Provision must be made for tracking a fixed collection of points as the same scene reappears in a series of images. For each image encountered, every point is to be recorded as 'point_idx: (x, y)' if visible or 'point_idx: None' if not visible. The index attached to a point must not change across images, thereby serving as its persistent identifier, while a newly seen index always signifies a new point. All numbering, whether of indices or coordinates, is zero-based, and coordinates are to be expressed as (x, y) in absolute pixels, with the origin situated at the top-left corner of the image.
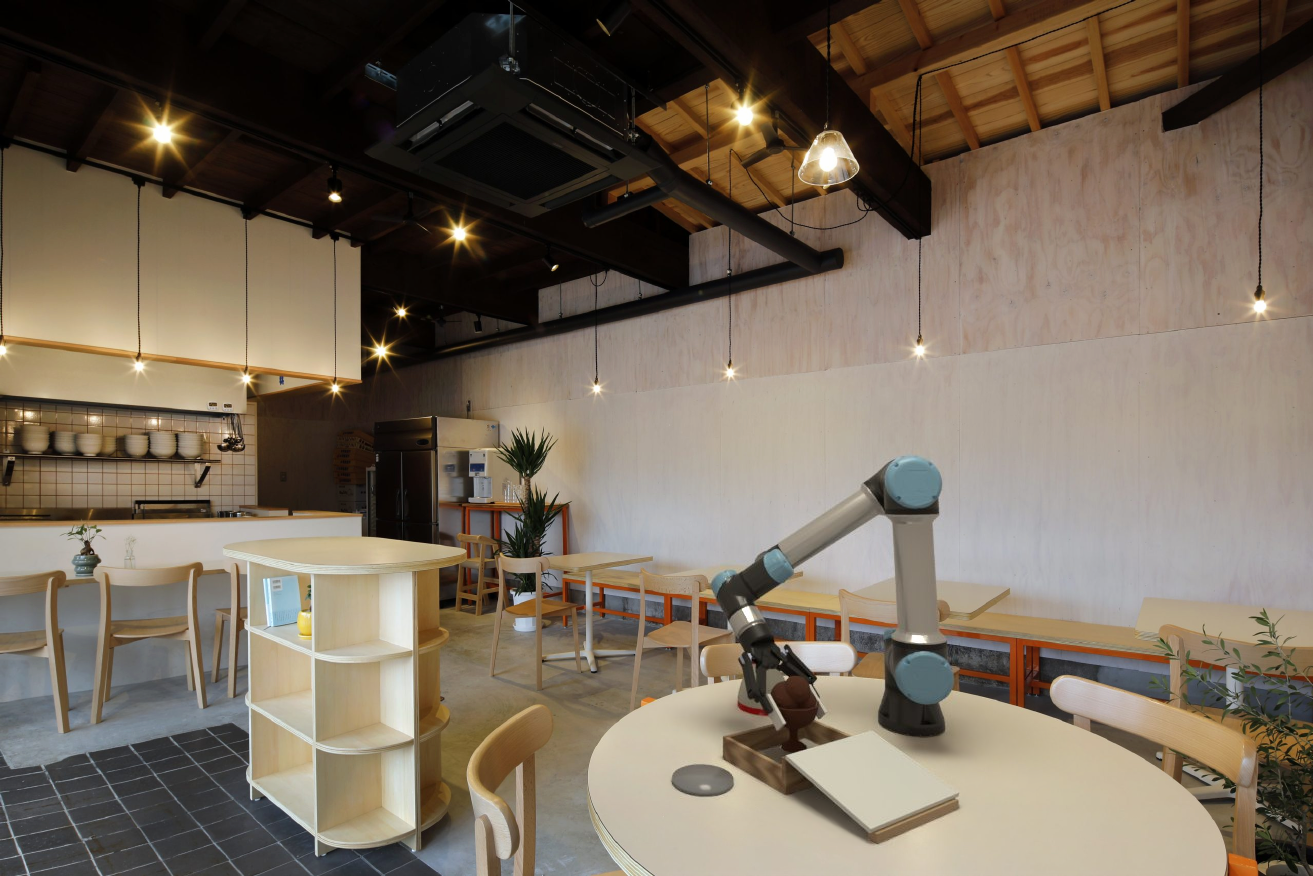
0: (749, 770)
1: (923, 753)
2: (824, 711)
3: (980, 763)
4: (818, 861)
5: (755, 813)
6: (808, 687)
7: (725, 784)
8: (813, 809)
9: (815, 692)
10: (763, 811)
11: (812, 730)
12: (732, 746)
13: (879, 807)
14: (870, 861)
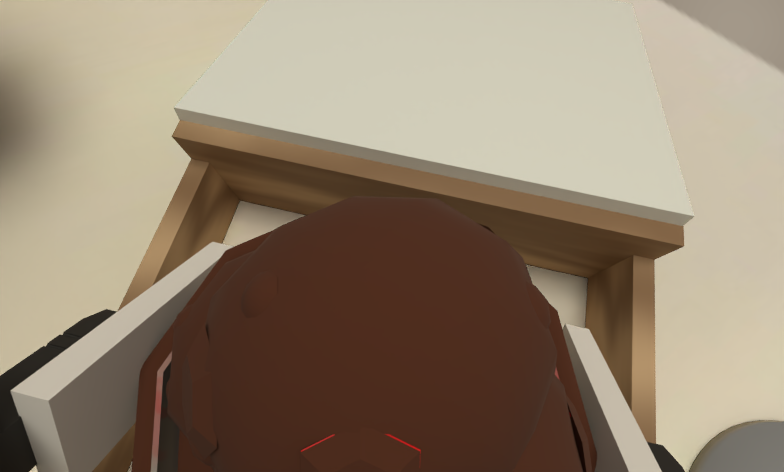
0: None
1: (32, 119)
2: (225, 249)
3: (31, 7)
4: (756, 68)
5: (759, 267)
6: (357, 196)
7: (772, 443)
8: None
9: (100, 326)
10: (731, 257)
11: (100, 463)
12: None
13: (553, 7)
14: (663, 12)
